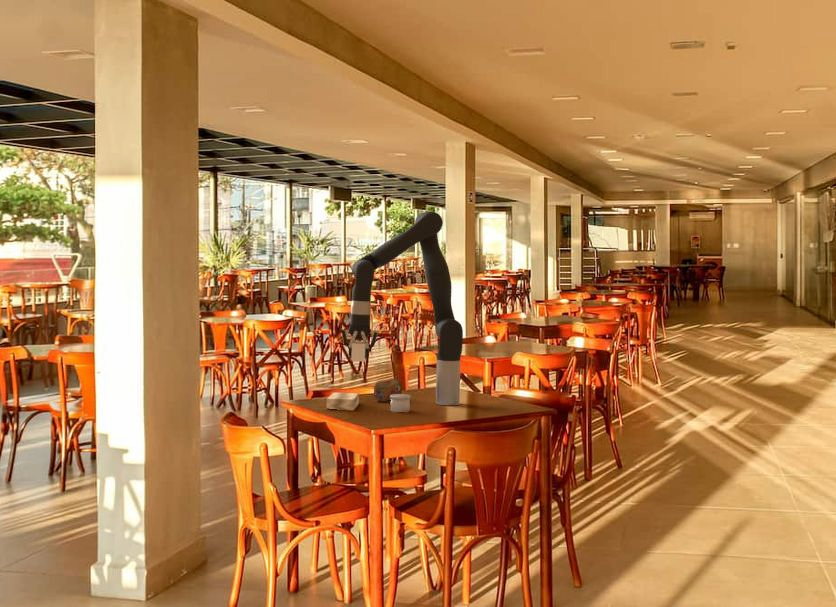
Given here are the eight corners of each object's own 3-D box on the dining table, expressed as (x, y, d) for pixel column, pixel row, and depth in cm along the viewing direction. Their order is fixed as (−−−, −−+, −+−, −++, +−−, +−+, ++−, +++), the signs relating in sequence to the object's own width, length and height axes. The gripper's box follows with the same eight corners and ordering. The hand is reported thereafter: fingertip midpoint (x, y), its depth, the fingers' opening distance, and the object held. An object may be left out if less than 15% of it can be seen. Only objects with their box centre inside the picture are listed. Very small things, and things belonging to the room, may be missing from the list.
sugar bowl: (410, 409, 349) (411, 394, 349) (409, 413, 341) (409, 397, 341) (390, 409, 349) (390, 393, 349) (388, 412, 342) (389, 396, 342)
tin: (378, 402, 364) (378, 381, 363) (372, 402, 366) (372, 380, 365) (402, 398, 376) (402, 377, 375) (396, 398, 378) (396, 377, 377)
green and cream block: (366, 360, 356) (367, 341, 355) (364, 361, 350) (365, 342, 350) (352, 359, 356) (353, 340, 356) (350, 360, 351) (351, 341, 350)
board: (358, 403, 360) (358, 393, 360) (353, 410, 344) (353, 399, 344) (333, 402, 361) (333, 392, 361) (326, 409, 345) (326, 398, 345)
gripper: (380, 313, 356) (378, 358, 357) (343, 311, 357) (341, 356, 357) (378, 314, 348) (376, 360, 349) (340, 312, 349) (338, 357, 350)
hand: (358, 357), depth 353 cm, fingers closed on green and cream block, 5 cm apart
